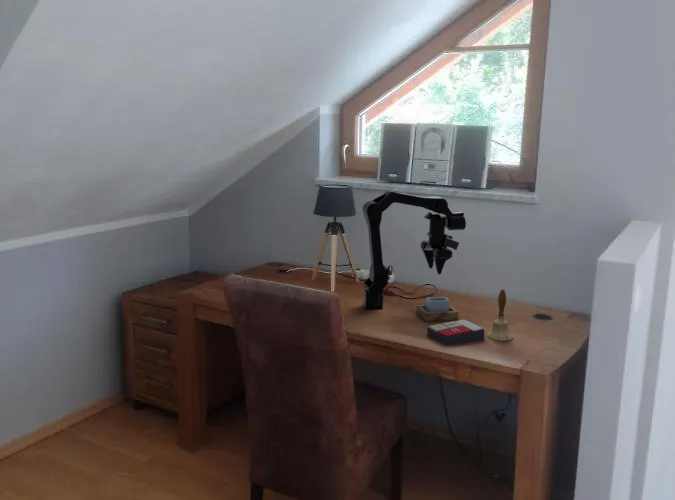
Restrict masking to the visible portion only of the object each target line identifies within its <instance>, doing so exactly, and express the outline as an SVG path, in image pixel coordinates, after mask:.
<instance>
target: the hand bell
mask: <svg viewBox="0 0 675 500" xmlns="http://www.w3.org/2000/svg"><path fill="white" fill-rule="evenodd" d="M497 303H498V304H497V305H498V315H497V317H498V318H497V319H495V320H493V324H492V328H491V329H490V331H489V332H487V334H486V336H487V338H488V339H490V340H493V341H497V342H499V341H500V342H508V341H512V340H513V339H514V336H513V334H511V332H510V329H509V322H508V321H507V320H505V318H504V317H505V306H506V303H507V295H506V291H505V289H500V292H499V294H498V297H497Z"/></svg>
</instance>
